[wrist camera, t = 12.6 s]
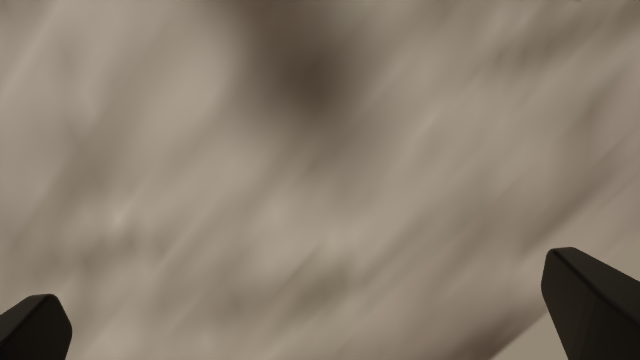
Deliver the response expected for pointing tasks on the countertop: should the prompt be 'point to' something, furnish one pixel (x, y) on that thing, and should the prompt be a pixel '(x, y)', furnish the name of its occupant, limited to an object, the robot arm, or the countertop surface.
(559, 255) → the robot arm
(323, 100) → the countertop surface
